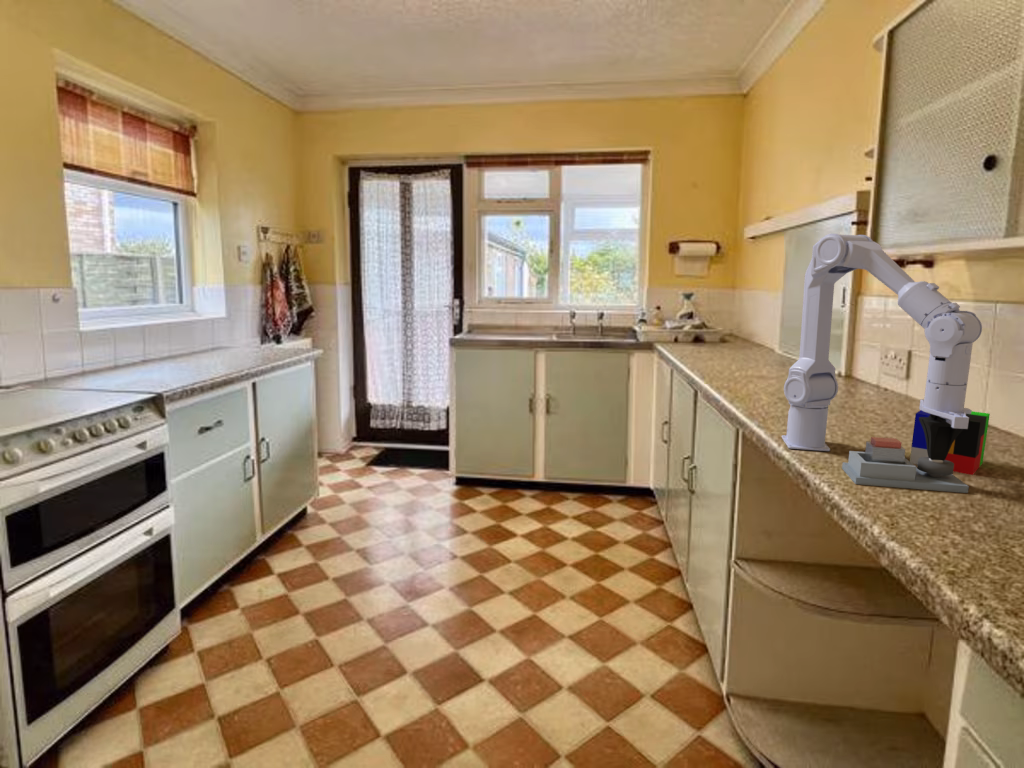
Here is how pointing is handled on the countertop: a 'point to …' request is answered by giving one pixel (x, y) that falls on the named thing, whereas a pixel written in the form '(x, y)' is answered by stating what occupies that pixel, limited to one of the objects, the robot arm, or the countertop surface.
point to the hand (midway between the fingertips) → (936, 459)
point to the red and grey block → (884, 451)
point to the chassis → (898, 475)
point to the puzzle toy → (956, 443)
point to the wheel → (935, 466)
